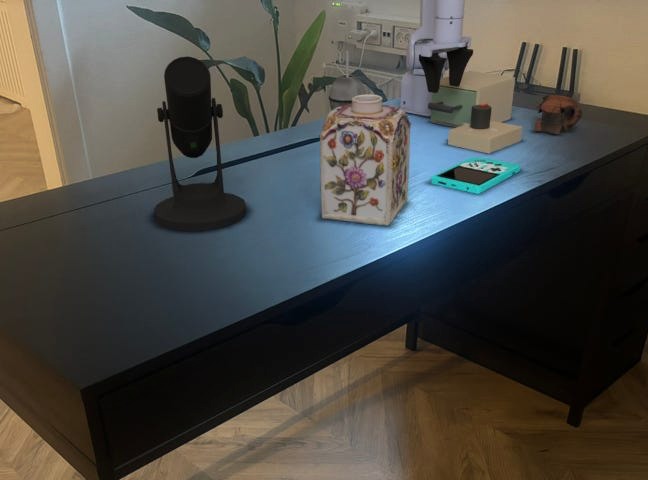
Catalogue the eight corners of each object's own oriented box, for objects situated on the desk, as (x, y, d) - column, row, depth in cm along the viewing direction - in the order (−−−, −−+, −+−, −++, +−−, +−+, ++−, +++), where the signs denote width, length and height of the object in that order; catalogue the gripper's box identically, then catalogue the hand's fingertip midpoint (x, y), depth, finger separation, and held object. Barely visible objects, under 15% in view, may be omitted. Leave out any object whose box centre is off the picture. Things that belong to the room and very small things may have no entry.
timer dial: (482, 130, 150) (484, 108, 148) (466, 127, 153) (468, 105, 151) (493, 126, 153) (495, 105, 151) (477, 123, 155) (479, 102, 153)
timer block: (445, 144, 153) (446, 128, 152) (478, 132, 161) (479, 117, 159) (489, 153, 147) (490, 137, 145) (520, 141, 154) (522, 125, 153)
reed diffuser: (366, 152, 149) (368, 46, 138) (364, 163, 143) (366, 53, 132) (330, 152, 150) (329, 46, 139) (327, 163, 144) (326, 53, 133)
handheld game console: (521, 171, 137) (522, 164, 136) (479, 194, 127) (480, 187, 126) (473, 161, 143) (474, 154, 142) (429, 183, 132) (430, 176, 132)
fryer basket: (458, 132, 158) (461, 96, 154) (417, 123, 164) (419, 89, 160) (503, 116, 168) (507, 82, 165) (463, 109, 175) (466, 76, 171)
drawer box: (475, 131, 161) (479, 87, 157) (431, 122, 169) (433, 80, 164) (510, 118, 170) (515, 77, 165) (466, 110, 177) (470, 70, 172)
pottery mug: (520, 131, 162) (530, 94, 162) (548, 145, 168) (558, 109, 167) (563, 128, 152) (574, 88, 152) (592, 143, 157) (603, 104, 157)
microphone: (155, 238, 113) (130, 64, 99) (154, 200, 127) (132, 44, 114) (252, 229, 115) (240, 58, 102) (240, 193, 129) (228, 40, 116)
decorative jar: (408, 202, 124) (414, 91, 114) (390, 227, 115) (394, 108, 105) (341, 195, 127) (341, 87, 118) (318, 219, 118) (316, 103, 109)
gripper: (443, 23, 139) (439, 98, 146) (486, 14, 148) (479, 85, 155) (414, 20, 143) (410, 93, 150) (457, 12, 152) (451, 81, 159)
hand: (443, 89), depth 153 cm, fingers open, 7 cm apart
